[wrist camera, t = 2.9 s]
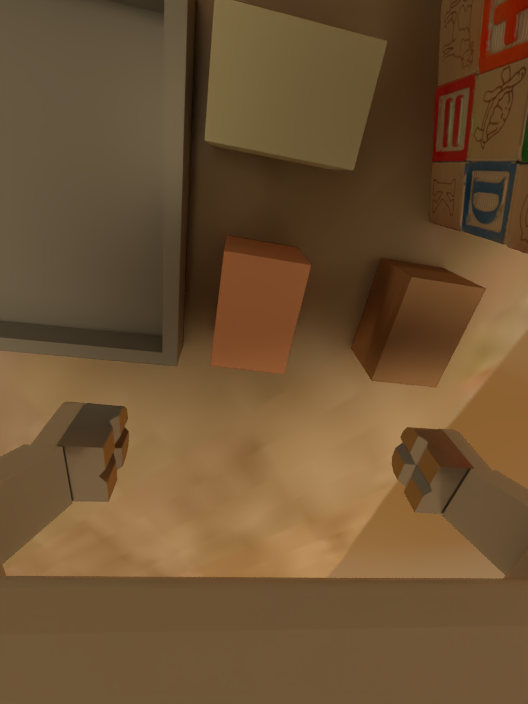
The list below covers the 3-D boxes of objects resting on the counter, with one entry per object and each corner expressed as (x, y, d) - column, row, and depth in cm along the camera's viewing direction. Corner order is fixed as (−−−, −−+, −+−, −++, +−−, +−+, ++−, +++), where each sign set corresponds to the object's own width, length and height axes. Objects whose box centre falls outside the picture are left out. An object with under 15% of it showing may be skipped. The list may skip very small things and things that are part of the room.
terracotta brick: (226, 234, 18) (223, 250, 15) (297, 247, 19) (310, 265, 15) (214, 332, 21) (210, 365, 17) (276, 340, 21) (283, 374, 18)
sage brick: (220, 37, 14) (214, -5, 11) (352, 70, 15) (387, 41, 11) (211, 146, 16) (204, 140, 12) (329, 169, 17) (353, 170, 13)
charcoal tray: (-212, -99, 11) (-317, -161, 9) (196, -1, 13) (188, -34, 11) (-64, 321, 19) (-103, 341, 17) (183, 345, 21) (176, 366, 19)
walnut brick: (380, 257, 19) (411, 277, 16) (442, 267, 20) (485, 288, 16) (350, 347, 22) (371, 380, 19) (405, 353, 23) (435, 387, 19)
